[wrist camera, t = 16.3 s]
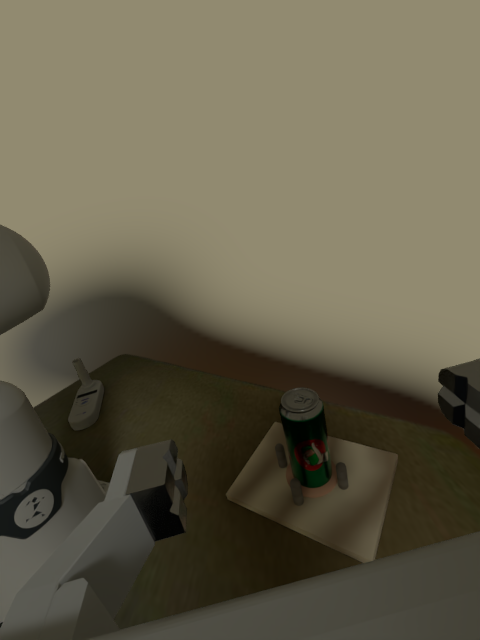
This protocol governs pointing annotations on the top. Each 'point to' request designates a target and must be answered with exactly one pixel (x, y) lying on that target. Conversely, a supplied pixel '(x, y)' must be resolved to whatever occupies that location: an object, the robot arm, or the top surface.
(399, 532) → the top surface
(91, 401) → the electronic device
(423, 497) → the top surface
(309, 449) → the soda can
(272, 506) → the can tray
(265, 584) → the top surface
